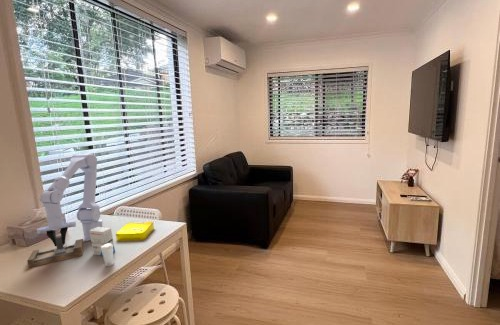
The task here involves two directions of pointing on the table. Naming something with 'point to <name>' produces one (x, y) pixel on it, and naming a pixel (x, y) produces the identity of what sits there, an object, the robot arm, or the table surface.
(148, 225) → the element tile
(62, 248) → the sliding jaw
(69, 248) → the base
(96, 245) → the ink box
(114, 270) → the table surface
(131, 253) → the table surface
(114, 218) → the table surface
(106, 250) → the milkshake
